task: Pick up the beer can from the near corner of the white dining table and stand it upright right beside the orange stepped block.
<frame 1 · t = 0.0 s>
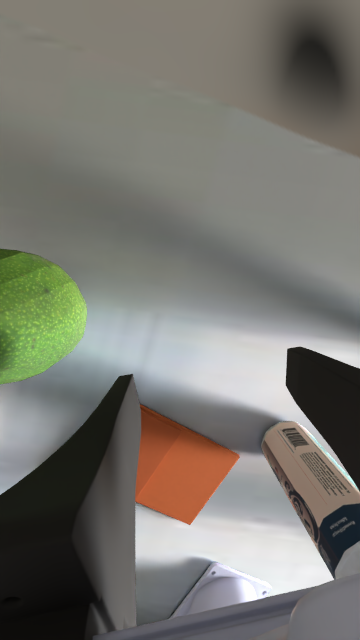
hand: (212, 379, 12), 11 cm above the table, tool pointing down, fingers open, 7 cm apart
avocado: (48, 303, 21), on the table
orange stepped block: (158, 462, 25), on the table
beer can: (281, 438, 25), on the table
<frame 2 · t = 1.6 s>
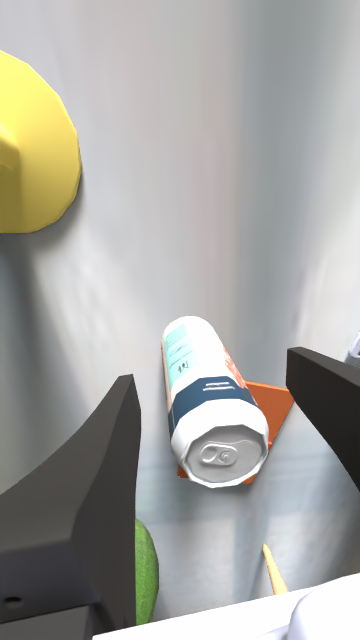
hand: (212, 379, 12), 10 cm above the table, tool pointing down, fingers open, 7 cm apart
avocado: (124, 521, 31), on the table
ice cream cone: (263, 543, 36), on the table
orange stepped block: (234, 433, 27), on the table
beer can: (187, 338, 23), on the table
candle: (0, 151, 16), on the table
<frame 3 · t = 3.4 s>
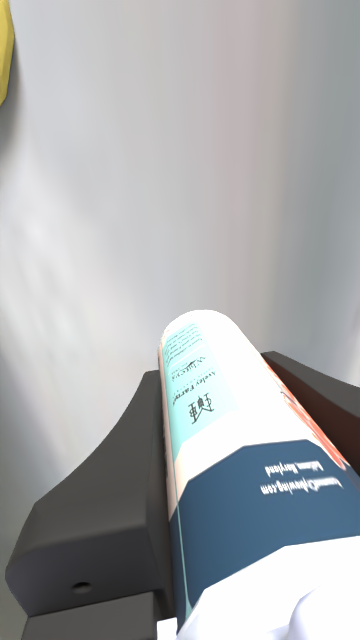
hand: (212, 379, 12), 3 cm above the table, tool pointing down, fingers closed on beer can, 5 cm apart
beer can: (198, 344, 15), on the table, touching gripper
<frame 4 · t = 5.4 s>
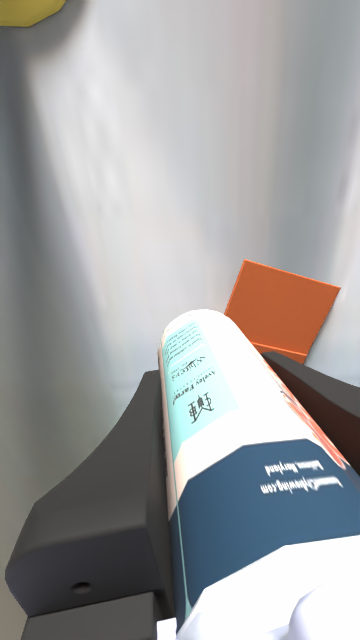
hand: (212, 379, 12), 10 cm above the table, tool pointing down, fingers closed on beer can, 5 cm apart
orange stepped block: (263, 342, 23), on the table
beer can: (198, 343, 15), point 7 cm above the table, touching gripper
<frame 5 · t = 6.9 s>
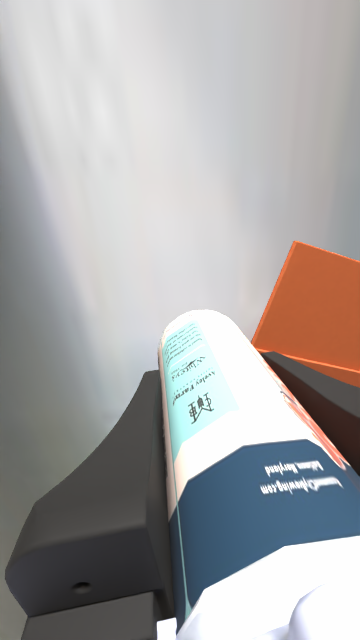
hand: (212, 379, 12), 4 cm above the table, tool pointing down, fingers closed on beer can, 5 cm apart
orange stepped block: (310, 356, 17), on the table
beer can: (198, 344, 15), point 1 cm above the table, touching gripper
when the fingers open (3 cm above the table, at t = 7.7 s): beer can stays where it is, on the table.
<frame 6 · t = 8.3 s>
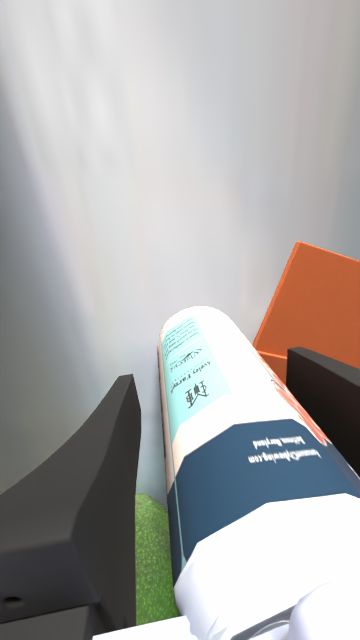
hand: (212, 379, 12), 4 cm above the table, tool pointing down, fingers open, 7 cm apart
avocado: (134, 503, 20), on the table
orange stepped block: (313, 358, 17), on the table
beer can: (196, 339, 16), on the table
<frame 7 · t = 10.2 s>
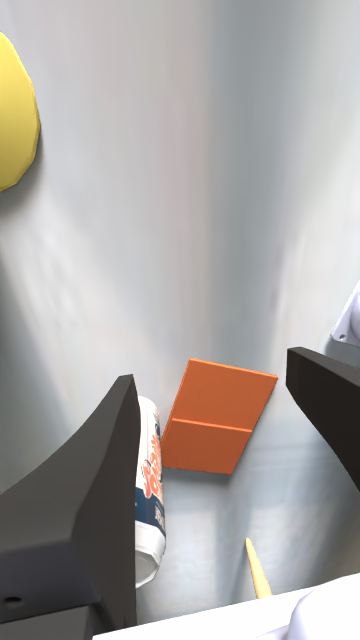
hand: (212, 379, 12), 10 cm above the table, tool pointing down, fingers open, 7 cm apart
ice cream cone: (246, 537, 35), on the table
orange stepped block: (212, 420, 26), on the table
beer can: (133, 411, 25), on the table
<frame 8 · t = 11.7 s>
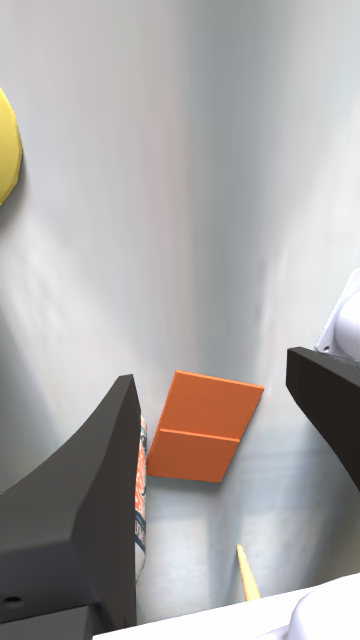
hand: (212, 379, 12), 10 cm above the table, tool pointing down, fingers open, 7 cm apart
ice cream cone: (237, 543, 35), on the table
orange stepped block: (200, 430, 27), on the table
beer can: (122, 421, 25), on the table
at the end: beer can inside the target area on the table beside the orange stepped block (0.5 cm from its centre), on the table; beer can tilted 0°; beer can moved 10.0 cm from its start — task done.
